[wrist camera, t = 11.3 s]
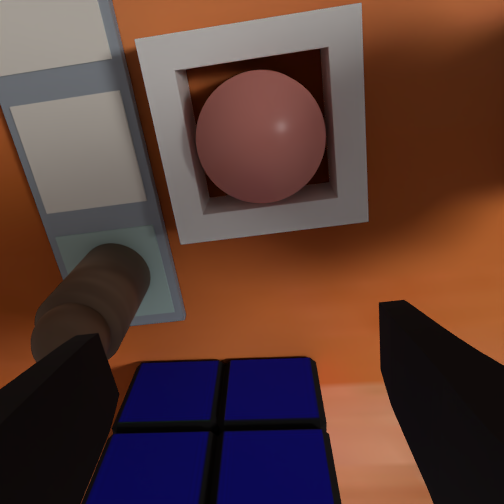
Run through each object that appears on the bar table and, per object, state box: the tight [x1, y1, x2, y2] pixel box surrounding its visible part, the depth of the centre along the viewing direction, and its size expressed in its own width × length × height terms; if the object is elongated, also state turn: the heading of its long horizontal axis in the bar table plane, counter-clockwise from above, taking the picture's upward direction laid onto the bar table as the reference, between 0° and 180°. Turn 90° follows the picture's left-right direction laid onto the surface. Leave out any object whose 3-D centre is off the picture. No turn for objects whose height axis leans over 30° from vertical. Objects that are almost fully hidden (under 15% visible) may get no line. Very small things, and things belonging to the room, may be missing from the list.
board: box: [0, 0, 186, 326], centre depth 19 cm, size 6×18×1 cm, turn 8°
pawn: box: [31, 243, 151, 362], centre depth 18 cm, size 3×3×7 cm
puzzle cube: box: [82, 358, 341, 504], centre depth 21 cm, size 10×10×10 cm
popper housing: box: [135, 3, 369, 245], centre depth 18 cm, size 8×8×2 cm
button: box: [196, 69, 326, 203], centre depth 17 cm, size 5×5×3 cm
